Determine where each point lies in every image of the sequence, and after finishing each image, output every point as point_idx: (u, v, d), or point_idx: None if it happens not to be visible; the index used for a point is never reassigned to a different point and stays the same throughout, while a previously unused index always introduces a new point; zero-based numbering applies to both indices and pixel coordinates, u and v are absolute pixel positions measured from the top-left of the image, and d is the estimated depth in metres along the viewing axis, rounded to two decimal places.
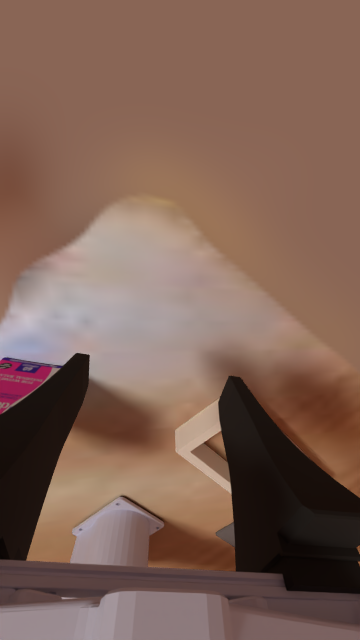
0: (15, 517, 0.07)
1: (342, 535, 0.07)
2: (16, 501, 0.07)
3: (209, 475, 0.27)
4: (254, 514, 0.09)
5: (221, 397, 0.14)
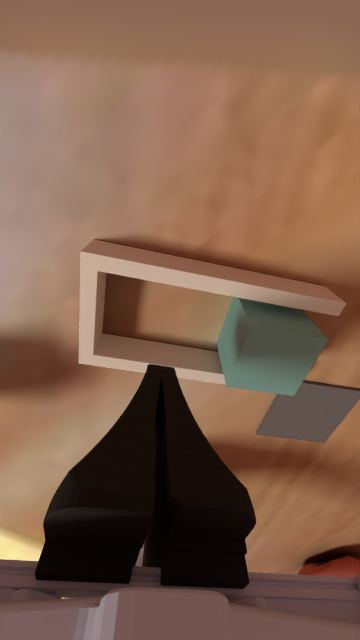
0: None
1: (221, 526, 0.07)
2: None
3: None
4: (154, 506, 0.09)
5: None
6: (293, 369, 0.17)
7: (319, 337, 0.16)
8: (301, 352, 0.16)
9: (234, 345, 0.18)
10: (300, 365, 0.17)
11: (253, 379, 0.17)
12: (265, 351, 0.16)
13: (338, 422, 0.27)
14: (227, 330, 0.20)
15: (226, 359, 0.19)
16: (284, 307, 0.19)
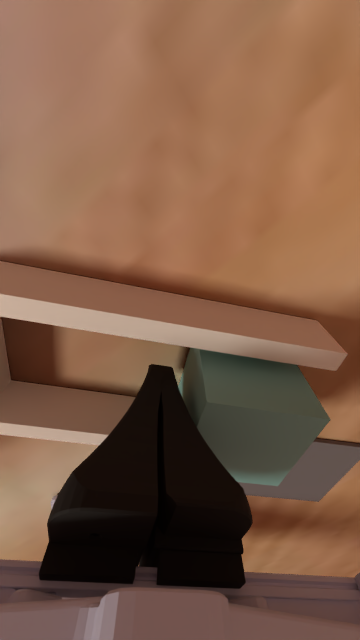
0: None
1: (218, 526, 0.07)
2: None
3: (65, 439, 0.14)
4: None
5: None
6: (276, 455, 0.11)
7: (316, 415, 0.10)
8: (288, 435, 0.11)
9: None
10: (287, 450, 0.11)
11: None
12: (232, 434, 0.10)
13: (335, 481, 0.21)
14: (185, 383, 0.14)
15: None
16: None
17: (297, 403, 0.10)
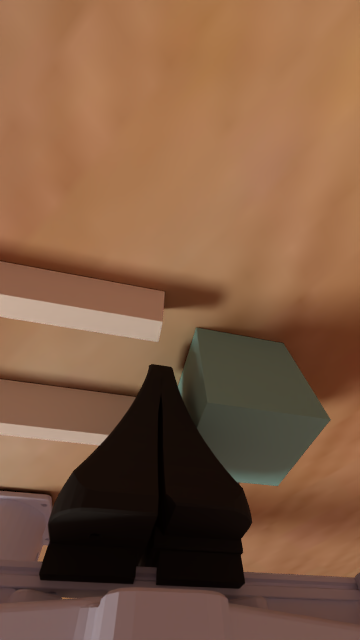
0: None
1: (217, 526, 0.07)
2: None
3: None
4: None
5: None
6: (276, 455, 0.11)
7: (316, 415, 0.10)
8: (288, 436, 0.11)
9: None
10: (287, 450, 0.11)
11: None
12: (232, 435, 0.10)
13: None
14: (185, 383, 0.14)
15: None
16: (265, 354, 0.13)
17: (297, 403, 0.10)
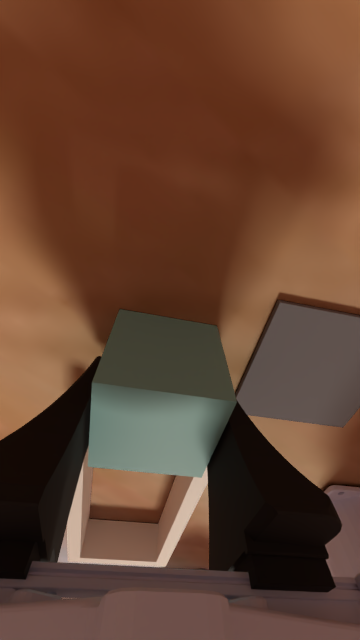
0: (53, 520, 0.07)
1: (308, 533, 0.07)
2: (55, 504, 0.07)
3: (174, 543, 0.21)
4: (226, 512, 0.09)
5: None
6: (165, 414, 0.09)
7: (92, 391, 0.09)
8: (126, 411, 0.09)
9: None
10: (155, 407, 0.09)
11: (188, 454, 0.11)
12: (130, 449, 0.10)
13: None
14: None
15: None
16: None
17: None
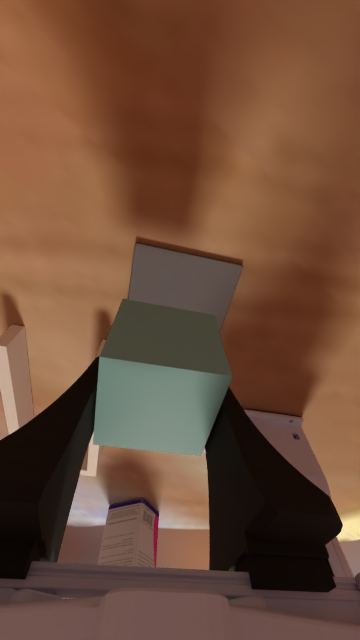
0: (53, 520, 0.07)
1: (308, 532, 0.07)
2: (55, 504, 0.07)
3: (96, 449, 0.26)
4: (226, 512, 0.09)
5: None
6: (166, 389, 0.10)
7: (99, 366, 0.10)
8: (130, 385, 0.10)
9: None
10: (157, 382, 0.10)
11: (188, 431, 0.11)
12: (133, 426, 0.11)
13: (198, 260, 0.19)
14: None
15: None
16: None
17: None
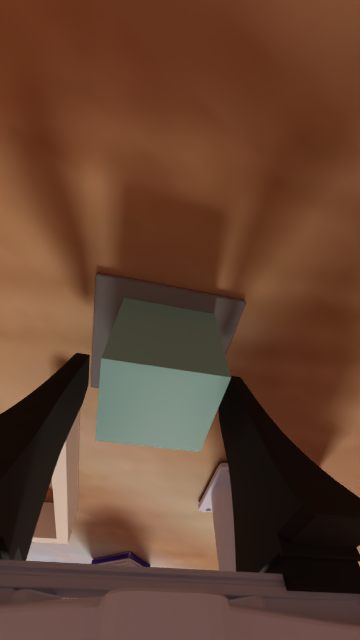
0: (15, 517, 0.07)
1: (342, 535, 0.07)
2: (16, 501, 0.07)
3: (65, 518, 0.21)
4: (254, 514, 0.09)
5: None
6: (166, 389, 0.10)
7: (101, 367, 0.10)
8: (131, 385, 0.10)
9: None
10: (157, 382, 0.10)
11: (187, 429, 0.12)
12: (134, 423, 0.11)
13: (183, 295, 0.14)
14: None
15: None
16: None
17: None
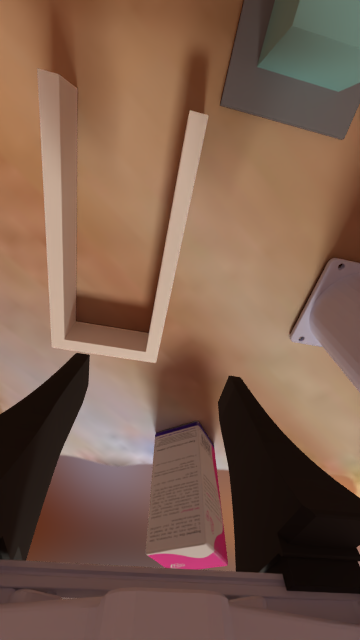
0: (15, 517, 0.07)
1: (342, 535, 0.07)
2: (16, 501, 0.07)
3: (164, 311, 0.19)
4: (254, 514, 0.09)
5: (221, 397, 0.14)
6: None
7: None
8: None
9: (331, 55, 0.11)
10: None
11: None
12: None
13: None
14: (313, 72, 0.13)
15: (358, 68, 0.12)
16: None
17: None
